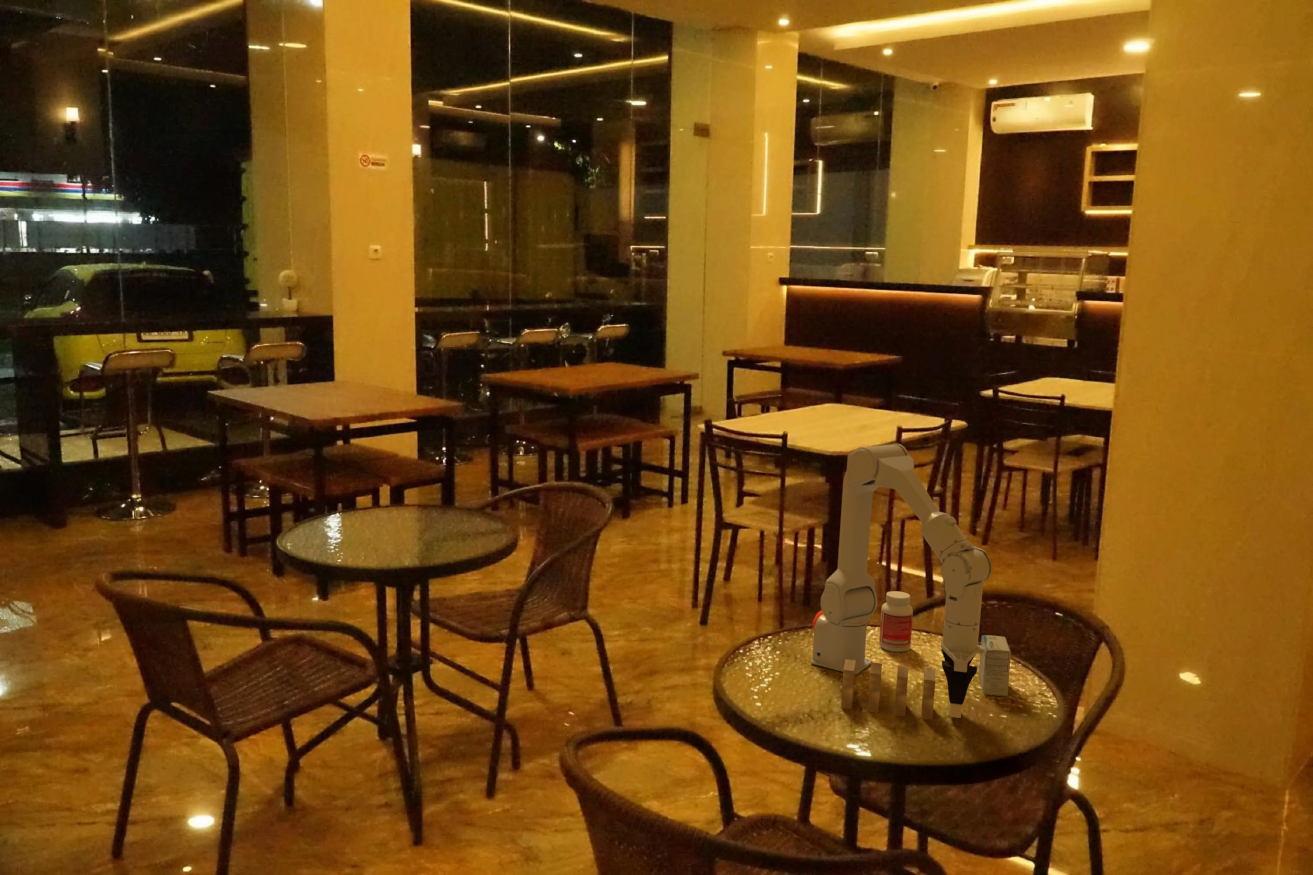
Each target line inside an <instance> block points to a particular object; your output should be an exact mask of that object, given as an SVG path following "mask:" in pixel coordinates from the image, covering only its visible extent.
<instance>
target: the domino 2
mask: <svg viewBox="0 0 1313 875" xmlns="http://www.w3.org/2000/svg"><path fill="white" fill-rule="evenodd" d="M882 670H883V663H882V662H881V663H880V662H873V661H872V663H871V664H870V671H869V681H868V682H869V683H868V698H867V699H868V700H867V712H870V713H879V711H880V710H879V708H880V707H879V706H880V700H881V699H880V698H881V697H880V696H881V685H882Z"/></svg>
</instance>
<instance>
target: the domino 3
mask: <svg viewBox="0 0 1313 875" xmlns="http://www.w3.org/2000/svg"><path fill="white" fill-rule="evenodd" d="M908 681H909V666H906V665H897V672H896V685H895V686H896V687H895V697H894V698H895V699H894V700H895V701H894V716H897V717H899V716H900V717H906V710H907V697H908V696H907V695H908V683H909V682H908Z"/></svg>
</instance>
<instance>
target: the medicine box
mask: <svg viewBox="0 0 1313 875" xmlns="http://www.w3.org/2000/svg"><path fill="white" fill-rule="evenodd" d="M980 645H981V646H984V647H985V653H979V661H978V662H979V663H978V665H979V666H978V680H979V684H980V687H981V691H982V694H983V695H988V696H994V697H995V696H997V697H998V696H999V697H1008V696H1009V695H1008V694H1009V682H1010V667H1011V658H1012V657H1011V655H1012V652H1011V649H1010V646H1009V643H1008V640H1007V638H1006V637H1005V636H1000V635H991V634H990V635H986V634H983V635H981V639H980Z"/></svg>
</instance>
